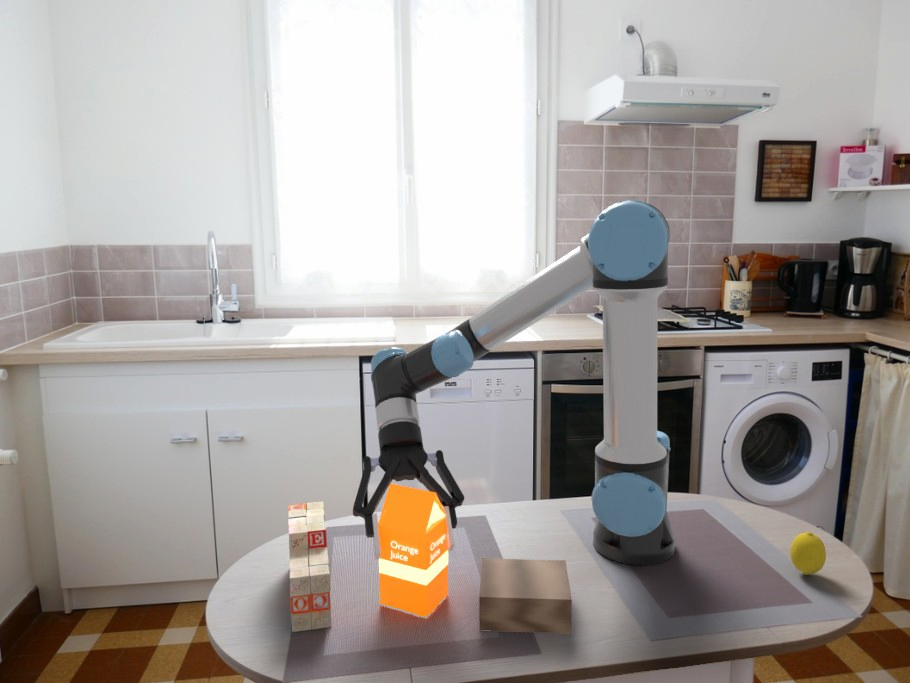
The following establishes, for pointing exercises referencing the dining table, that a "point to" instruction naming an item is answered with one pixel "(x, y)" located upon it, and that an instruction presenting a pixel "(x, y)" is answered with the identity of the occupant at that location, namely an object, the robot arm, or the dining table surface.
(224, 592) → the dining table surface
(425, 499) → the orange juice
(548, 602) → the base brick
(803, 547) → the lemon
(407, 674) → the dining table surface
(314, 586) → the stack of blocks
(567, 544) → the dining table surface
